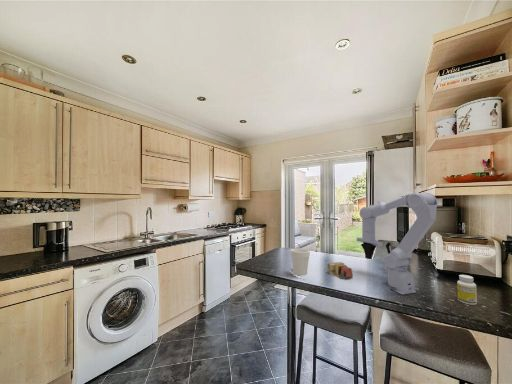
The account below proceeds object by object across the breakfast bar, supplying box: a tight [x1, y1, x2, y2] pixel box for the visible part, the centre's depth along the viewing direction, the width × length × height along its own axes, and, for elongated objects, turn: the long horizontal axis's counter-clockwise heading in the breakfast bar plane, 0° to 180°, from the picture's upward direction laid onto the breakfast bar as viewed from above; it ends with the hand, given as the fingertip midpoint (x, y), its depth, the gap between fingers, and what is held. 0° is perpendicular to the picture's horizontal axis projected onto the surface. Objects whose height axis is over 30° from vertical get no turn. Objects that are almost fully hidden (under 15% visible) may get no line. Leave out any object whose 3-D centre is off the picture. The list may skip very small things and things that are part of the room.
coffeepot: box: [385, 239, 412, 273], centre depth 117 cm, size 15×9×18 cm, turn 18°
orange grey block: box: [340, 265, 353, 277], centre depth 108 cm, size 10×3×4 cm, turn 17°
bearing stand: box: [327, 261, 353, 280], centre depth 109 cm, size 11×10×6 cm
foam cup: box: [290, 247, 310, 276], centre depth 112 cm, size 10×9×13 cm
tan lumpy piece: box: [334, 263, 347, 275], centre depth 109 cm, size 3×5×5 cm, turn 107°
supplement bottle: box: [456, 274, 478, 306], centre depth 85 cm, size 5×5×10 cm
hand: (368, 258), depth 110 cm, fingers closed
